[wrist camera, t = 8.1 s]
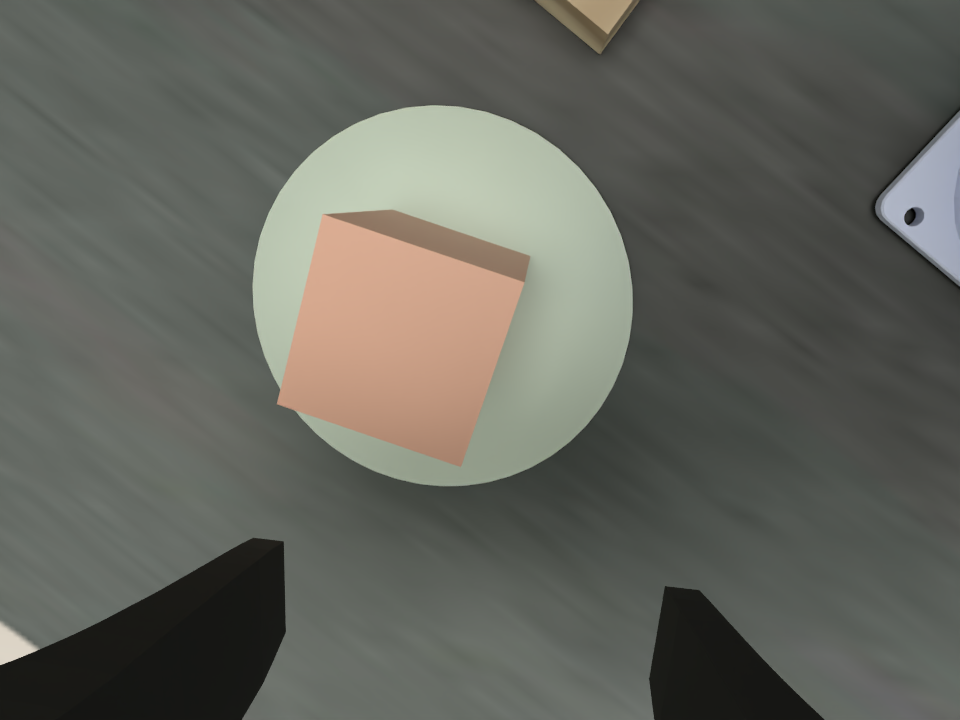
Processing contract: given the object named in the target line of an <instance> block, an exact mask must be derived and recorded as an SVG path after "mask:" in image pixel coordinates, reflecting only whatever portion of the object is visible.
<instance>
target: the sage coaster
mask: <svg viewBox="0 0 960 720" xmlns="http://www.w3.org/2000/svg"><path fill="white" fill-rule="evenodd" d="M377 210H395V211H398V212H401V213H404V214H407V215H410V216H413V217H416V218H419V219H422V220H425V221H428V222H431V223H434V224H437V225H440V226H443V227H446V228H449V229H452V230H455V231H458V232H461V233H464V234H467V235H470V236H473V237H476V238H478V239H481V240H484V241H487V242H490V243H493V244H496V245H499V246H502V247H505V248H508V249H511V250H514V251H517V252H520V253H523V254H526V255H529V256H530V260H529V265H528V269H527V274H526V278H525V283H524V286H523V288H522V291H521V294H520V297H519V300H518V303H517V306H516V309H515V312H514V315H513V317H512V320H511V323H510V326H509V329H508V332H507V335H506V338H505V341H504V344H503V346H502V349H501V352H500V355H499V358H498V361H497V364H496V367H495V370H494V373H493V375H492V378H491V381H490V384H489V387H488V390H487V393H486V396H485V399H484V402H483V405H482V407H481V410H480V413H479V416H478V419H477V422H476V425H475V428H474V431H473V434H472V436H471V439H470V442H469V445H468V448H467V451H466V454H465V457H464V460H463V463H462V465H461V467H459V466H456V465H453V464H450V463H447V462H444V461H441V460H439V459H436V458H433V457H430V456H427V455H424V454H421V453H418V452H415V451H412V450H409V449H406V448H404V447H401V446H398V445H395V444H392V443H389V442H386V441H383V440H380V439H377V438H374V437H371V436H368V435H366V434H363V433H360V432H357V431H354V430H351V429H348V428H345V427H342V426H339V425H336V424H333V423H331V422H328V421H325V420H322V419H319V418H316V417H313V416H310V415H307V414H304V413H301V412H298V411H296V412H297V413H298V415H299V416H300V417H301V418H302V419H303V420H304V421H305V422H306V423H307V425H308V426H309V427H310V428H311V429H312V430H313V431H314V432H315V433H316V434H317V435H319V436H320V437H321V438H322V439H323V440H325V441H326V442H327V443H328V444H329V445H331V446H332V447H333V448H334V449H336V450H337V451H339V452H341V453H342V454H344V455H345V456H347V457H348V458H350V459H351V460H353V461H355V462H357V463H359V464H361V465H363V466H365V467H367V468H369V469H371V470H373V471H375V472H378V473H381V474H384V475H387V476H390V477H392V478H395V479H399V480H404V481H408V482H412V483H417V484H425V485H435V486H466V485H473V484H480V483H487V482H491V481H495V480H498V479H502V478H506V477H509V476H512V475H514V474H517V473H519V472H522V471H524V470H526V469H529V468H531V467H533V466H535V465H536V464H538V463H540V462H542V461H543V460H545V459H547V458H549V457H550V456H552V455H553V454H555V453H556V452H557V451H558V450H560V449H561V448H562V447H564V446H565V445H566V444H568V443H569V442H570V441H571V440H572V439H573V438H574V437H575V436H576V435H577V434H578V433H579V432H580V431H581V430H582V429H583V428H584V427H586V426H587V424H588V423H589V422H590V420H591V419H592V418H593V417H594V415H595V414H596V413H597V411H598V410H599V409H600V408H601V406H602V404H603V403H604V401H605V399H606V398H607V396H608V394H609V393H610V391H611V389H612V387H613V386H614V383H615V381H616V379H617V376H618V374H619V371H620V369H621V367H622V364H623V361H624V357H625V354H626V350H627V346H628V342H629V338H630V331H631V323H632V315H633V290H632V281H631V274H630V267H629V261H628V258H627V254H626V251H625V247H624V244H623V240H622V237H621V234H620V232H619V230H618V228H617V225H616V223H615V221H614V218H613V216H612V214H611V212H610V210H609V209H608V207H607V205H606V204H605V202H604V200H603V199H602V197H601V195H600V194H599V192H598V191H597V189H596V188H595V186H594V185H593V184H592V183H591V182H590V180H589V179H588V178H587V177H586V175H585V174H584V173H583V172H582V171H581V169H580V168H579V167H578V166H577V165H576V164H575V163H573V162H572V161H571V160H570V159H569V158H568V157H567V156H566V155H565V154H564V153H563V152H562V151H561V150H560V149H558V148H557V147H555V146H554V145H552V144H551V143H550V142H548V141H547V140H545V139H544V138H542V137H541V136H540V135H538V134H537V133H535V132H533V131H531V130H529V129H527V128H525V127H523V126H521V125H519V124H517V123H515V122H513V121H511V120H508V119H505V118H502V117H499V116H497V115H494V114H491V113H488V112H484V111H479V110H474V109H469V108H463V107H455V106H435V105H431V106H420V107H409V108H403V109H399V110H394V111H390V112H386V113H382V114H379V115H376V116H374V117H371V118H369V119H366V120H363V121H361V122H358V123H356V124H354V125H352V126H351V127H349V128H347V129H345V130H344V131H342V132H340V133H338V134H337V135H335V136H333V137H332V138H331V139H329V140H328V141H327V142H325V143H324V144H323V145H322V146H320V147H319V148H318V149H317V150H315V151H314V152H313V153H312V154H311V155H310V156H309V157H308V158H307V159H306V160H305V161H304V162H303V163H302V164H301V165H300V166H299V167H298V168H297V169H296V170H295V172H294V173H293V174H292V176H291V177H290V179H289V180H288V181H287V183H286V184H285V185H284V187H283V188H282V190H281V191H280V193H279V195H278V197H277V199H276V200H275V202H274V204H273V206H272V208H271V210H270V212H269V214H268V216H267V219H266V222H265V225H264V227H263V230H262V233H261V236H260V239H259V244H258V248H257V253H256V257H255V264H254V275H253V306H254V314H255V320H256V326H257V332H258V336H259V339H260V343H261V346H262V349H263V353H264V356H265V358H266V361H267V363H268V365H269V367H270V370H271V372H272V374H273V377H274V379H275V380H276V382H277V384H278V385H279V387H280V389H281V386H282V381H283V377H284V373H285V369H286V365H287V360H288V356H289V352H290V348H291V344H292V340H293V335H294V331H295V327H296V323H297V319H298V315H299V310H300V306H301V302H302V298H303V294H304V289H305V285H306V281H307V277H308V273H309V269H310V264H311V260H312V256H313V252H314V248H315V244H316V239H317V235H318V231H319V227H320V223H321V218H322V214H332V213H347V212H362V211H377Z"/></svg>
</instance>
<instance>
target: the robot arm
mask: <svg viewBox="0 0 960 720" xmlns="http://www.w3.org/2000/svg"><path fill="white" fill-rule="evenodd" d="M910 208H913V209H914V210H915V212H916V218H915V220H914V221H913V222H912V223H911V224H909V225H907V224H906V223H905V221H904V215H905V213H906V212H907V210H909V209H910ZM875 210H876V215H877V216H878V217H879V219H880V220H881V221H882V222H884V223H885V224H886V225H887V226H888V227H889V228H891V229H892V230H893V231H894V232H895V233H897V234H898V235H899V236H900V237H901V238H903V239H904V240H905V241H906V242H907V243H908V244H910V245H911V246H912V247H913V248H914V249H916V250H917V251H918V252H919V253H920V254H922V255H923V256H924V257H925V258H926V259H927V260H929V261H930V262H931V263H932V264H933V265H935V266H936V267H937V268H938V269H939V270H941V271H942V272H943V273H944V274H945V275H946V276H948V277H949V278H950V279H951V280H952V281H954V282H955V283H956V284H957V285H958V286H960V111H959V112H958V113H957V114H956V115H955V116H954V117H953V118H952V119H951V120H950V121H949V123H948V124H947V125H946V126H945V127H944V128H943V129H942V130H941V131H940V132H939V133H938V134H937V135H936V136H935V137H934V138H933V140H932V141H931V142H930V143H929V144H928V145H927V146H926V147H925V148H924V149H923V150H922V151H921V152H920V153H919V154H918V155H917V157H916V158H915V159H914V160H913V161H912V162H911V163H910V164H909V165H908V166H907V167H906V168H905V169H904V170H903V171H902V172H901V174H900V175H899V176H898V177H897V178H896V179H895V180H894V181H893V182H892V183H891V184H890V185H889V186H888V187H887V188H886V189H885V191H884V192H883V193H882V194H881V195H880V197H879V198H878V200H877V202H876V206H875ZM285 632H286V624H285V581H284V541H275V540H267V539H258V538H252V539H250V540H248V541H246V542H244V543H242V544H240V545H238V546H237V547H235V548H233V549H231V550H229V551H228V552H226V553H224V554H222V555H221V556H219V557H217V558H215V559H214V560H212V561H210V562H209V563H207V564H205V565H203V566H202V567H200V568H198V569H197V570H195V571H193V572H191V573H190V574H188V575H186V576H184V577H183V578H181V579H179V580H177V581H176V582H174V583H172V584H170V585H169V586H167V587H165V588H163V589H162V590H160V591H158V592H156V593H154V594H152V595H151V596H149V597H147V598H145V599H143V600H141V601H139V602H137V603H135V604H133V605H131V606H130V607H128V608H126V609H124V610H122V611H120V612H118V613H116V614H114V615H112V616H110V617H109V618H107V619H105V620H103V621H101V622H99V623H97V624H95V625H93V626H91V627H89V628H87V629H84V630H82V631H80V632H78V633H76V634H74V635H72V636H69V637H67V638H65V639H63V640H60V641H58V642H56V643H54V644H51V645H49V646H47V647H44V648H42V649H40V650H38V651H35V652H33V653H31V654H28V655H26V656H23V657H21V658H18V659H16V660H13V661H11V662H8V663H5V664H3V665H0V720H242V718H243V717H244V715H245V713H246V712H247V710H248V708H249V706H250V705H251V703H252V701H253V700H254V698H255V696H256V695H257V693H258V691H259V689H260V688H261V686H262V684H263V682H264V680H265V678H266V676H267V673H268V671H269V669H270V667H271V665H272V663H273V660H274V658H275V656H276V653H277V651H278V649H279V646H280V644H281V642H282V639H283V637H284V635H285ZM649 681H650V689H651V697H652V705H653V712H654V719H655V720H824V719H823V718H822V717H821V716H820V715H819V714H818V713H817V712H816V711H815V710H814V709H813V708H812V707H810V706H809V705H808V704H807V703H806V702H805V701H804V700H803V699H802V698H801V697H800V696H799V695H798V694H797V693H796V692H795V691H794V690H793V689H792V688H791V687H790V686H789V685H788V684H787V683H786V682H785V681H784V680H783V679H782V678H781V677H780V676H779V675H778V674H777V673H776V672H775V671H774V670H773V669H772V668H771V667H770V666H769V665H768V664H767V663H766V662H765V661H764V660H763V659H762V658H761V657H760V656H759V655H758V654H757V652H756V651H755V650H754V649H753V648H752V647H751V646H750V645H749V644H748V643H747V642H746V641H745V640H744V638H743V637H742V636H741V635H740V634H739V633H738V632H737V631H736V630H735V629H734V628H733V626H732V625H731V624H730V623H729V622H728V621H727V620H726V619H725V618H724V616H723V615H722V614H721V613H720V612H719V611H718V610H717V609H716V608H715V607H714V605H713V604H712V603H711V602H710V601H709V600H708V599H707V598H706V597H705V596H704V595H703V594H702V593H701V592H700V591H699V590H692V589H684V588H675V587H667V586H665V590H664V595H663V601H662V607H661V613H660V619H659V625H658V631H657V637H656V643H655V648H654V654H653V660H652V666H651V672H650V678H649Z"/></svg>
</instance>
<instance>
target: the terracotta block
mask: <svg viewBox="0 0 960 720" xmlns="http://www.w3.org/2000/svg"><path fill="white" fill-rule="evenodd" d="M529 260H530V256H529V255H526V254H523V253H520V252H517V251H514V250H511V249H508V248H505V247H502V246H499V245H496V244H493V243H490V242H487V241H484V240H481V239H478V238H476V237H473V236H470V235H467V234H464V233H461V232H458V231H455V230H452V229H449V228H446V227H443V226H440V225H437V224H434V223H431V222H428V221H425V220H422V219H419V218H416V217H413V216H410V215H407V214H404V213H401V212H398V211H395V210H377V211H362V212H347V213H332V214H322V218H321V223H320V227H319V231H318V235H317V239H316V244H315V248H314V252H313V256H312V260H311V264H310V269H309V273H308V277H307V281H306V285H305V289H304V294H303V298H302V302H301V306H300V310H299V315H298V319H297V323H296V327H295V331H294V335H293V340H292V344H291V348H290V352H289V356H288V360H287V365H286V369H285V373H284V377H283V381H282V386H281V390H280V394H279V398H278V402H277V404H278V405H281V406H284V407H287V408H290V409H293V410H295V411H298V412H301V413H304V414H307V415H310V416H313V417H316V418H319V419H322V420H325V421H328V422H331V423H333V424H336V425H339V426H342V427H345V428H348V429H351V430H354V431H357V432H360V433H363V434H366V435H368V436H371V437H374V438H377V439H380V440H383V441H386V442H389V443H392V444H395V445H398V446H401V447H404V448H406V449H409V450H412V451H415V452H418V453H421V454H424V455H427V456H430V457H433V458H436V459H439V460H441V461H444V462H447V463H450V464H453V465H456V466H459V467H461V465H462V463H463V460H464V457H465V454H466V451H467V448H468V445H469V442H470V439H471V436H472V434H473V431H474V428H475V425H476V422H477V419H478V416H479V413H480V410H481V407H482V405H483V402H484V399H485V396H486V393H487V390H488V387H489V384H490V381H491V378H492V375H493V373H494V370H495V367H496V364H497V361H498V358H499V355H500V352H501V349H502V346H503V344H504V341H505V338H506V335H507V332H508V329H509V326H510V323H511V320H512V317H513V315H514V312H515V309H516V306H517V303H518V300H519V297H520V294H521V291H522V288H523V286H524V283H525V278H526V274H527V269H528V265H529Z"/></svg>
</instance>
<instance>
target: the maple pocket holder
mask: <svg viewBox="0 0 960 720" xmlns="http://www.w3.org/2000/svg"><path fill="white" fill-rule="evenodd" d="M535 1H536V2H537V3H538V4H539V5H541V6H542V7H543V8H544V9H545V10H547V11H548V12H549V13H550V14H551V15H553V16H554V17H555V18H556V19H557V20H559V21H560V22H561V23H562V24H563V25H565V26H566V27H567V28H568V29H570V30H571V31H572V32H573V33H574V34H576V35H577V36H578V37H579V38H580V39H582V40H583V41H584V42H585V43H586V44H588V45H589V46H590V47H591V48H592V49H594V50H595V51H596V52H597V53H598V54H601V53H602V51H603V50H604V48H605V47H606V46H607V44H608V43H609V42H610V40H611V39H612V38H613V36H614V35H615V34H616V32H617V31H618V29H619V28H620V27H621V25H622V24H623V23H624V21H625V20H626V19H627V17H628V16H629V15H630V13H631V12H632V10H633V9H634V8H635V6H636V5H637V4H638V2H639V1H640V0H535Z"/></svg>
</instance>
